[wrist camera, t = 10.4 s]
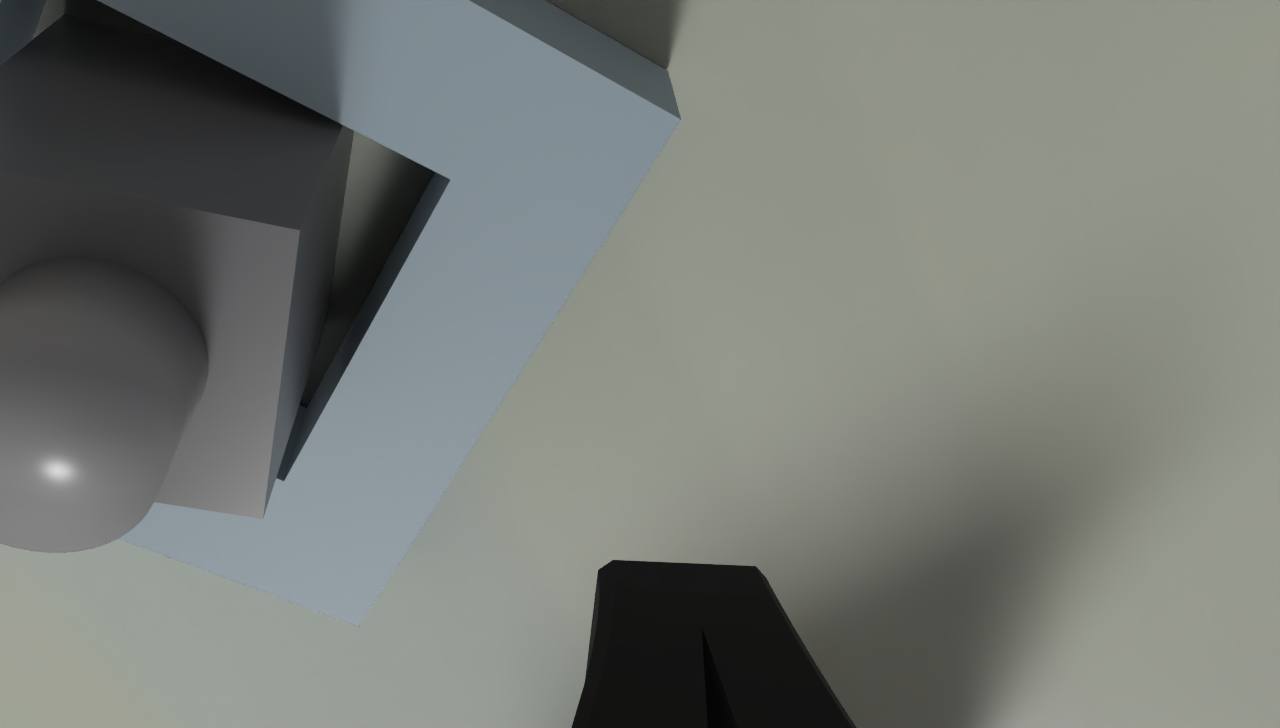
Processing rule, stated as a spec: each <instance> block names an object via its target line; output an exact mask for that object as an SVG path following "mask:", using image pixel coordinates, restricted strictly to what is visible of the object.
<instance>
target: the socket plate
mask: <svg viewBox="0 0 1280 728" xmlns="http://www.w3.org/2000/svg"><path fill="white" fill-rule="evenodd" d="M45 1H46V0H0V66H1V65H2V64H3V63H4V62H6V61H7V60H8V59H9V58H11V57H12V56H13V55H14V54H16V53H17V52H18V51H19V50H21V49H22V48H23V47H24V46H26V45H27V44H28V43H29V42H31V41H32V38H33V35H34V32H35V29H36V27H37V24H38V21H39V18H40V15H41V12H42V10H43V7H44V4H45ZM98 1H100V2H102V3H104V4H105V5H107V6H109V7H111V8H113V9H115V10H117V11H119V12H121V13H123V14H125V15H127V16H129V17H131V18H133V19H135V20H137V21H139V22H141V23H143V24H145V25H147V26H149V27H151V28H153V29H155V30H157V31H159V32H161V33H163V34H165V35H167V36H169V37H171V38H172V39H174V40H176V41H178V42H180V43H182V44H184V45H186V46H188V47H190V48H192V49H194V50H196V51H198V52H200V53H202V54H204V55H206V56H208V57H210V58H212V59H214V60H216V61H218V62H220V63H222V64H224V65H226V66H228V67H230V68H232V69H234V70H236V71H238V72H239V73H241V74H243V75H245V76H247V77H249V78H251V79H253V80H255V81H257V82H259V83H261V84H263V85H265V86H267V87H269V88H271V89H273V90H275V91H277V92H279V93H281V94H283V95H285V96H287V97H289V98H291V99H293V100H295V101H297V102H299V103H301V104H303V105H305V106H306V107H308V108H310V109H312V110H314V111H316V112H318V113H320V114H322V115H324V116H326V117H328V118H330V119H332V120H334V121H336V122H338V123H340V124H342V125H344V126H346V127H348V128H350V129H352V130H354V131H356V132H358V133H360V134H362V135H364V136H366V137H368V138H370V139H372V140H374V141H375V142H377V143H379V144H381V145H383V146H385V147H387V148H389V149H391V150H393V151H395V152H397V153H399V154H401V155H403V156H405V157H407V158H409V159H411V160H413V161H415V162H417V163H419V164H421V165H423V166H425V167H427V168H429V169H431V170H433V171H435V173H434V175H433V177H432V179H431V180H430V182H429V184H428V186H427V188H426V190H425V191H424V193H423V195H422V197H421V199H420V201H419V202H418V204H417V206H416V208H415V210H414V212H413V213H412V215H411V217H410V219H409V221H408V223H407V225H406V226H405V228H404V230H403V232H402V234H401V236H400V237H399V239H398V241H397V243H396V245H395V247H394V248H393V250H392V252H391V254H390V256H389V258H388V259H387V261H386V263H385V265H384V267H383V269H382V270H381V272H380V274H379V276H378V278H377V280H376V282H375V283H374V285H373V287H372V289H371V291H370V293H369V294H368V296H367V298H366V300H365V302H364V304H363V305H362V307H361V309H360V311H359V313H358V315H357V316H356V318H355V320H354V322H353V324H352V326H351V327H350V329H349V331H348V333H347V335H346V337H345V339H344V340H343V342H342V344H341V346H340V348H339V350H338V351H337V353H336V355H335V357H334V359H333V361H332V362H331V364H330V366H329V368H328V370H327V372H326V373H325V375H324V377H323V379H322V381H321V383H320V384H319V386H318V388H317V390H316V392H315V394H314V396H313V397H312V399H311V401H310V403H309V405H308V407H307V408H305V407H303V406H301V405H299V408H298V411H297V414H296V417H295V420H294V423H293V426H292V430H291V433H290V436H289V439H288V442H287V445H286V448H285V452H284V455H283V458H282V461H281V464H280V467H279V470H278V474H277V477H276V480H275V483H274V486H273V489H272V492H271V496H270V499H269V502H268V505H267V508H266V511H265V514H264V518H263V519H260V518H253V517H247V516H240V515H234V514H227V513H221V512H214V511H208V510H201V509H195V508H188V507H182V506H175V505H169V504H162V503H156V502H154V503H153V505H152V507H151V509H150V510H149V512H148V513H147V515H146V516H145V517H144V518H143V520H142V521H141V522H140V523H139V524H138V525H137V526H135V527H134V528H133V529H132V530H131V531H129V532H128V533H126V534H125V535H123V536H122V537H120V538H118V539H121V540H123V541H126V542H129V543H131V544H134V545H137V546H140V547H142V548H145V549H148V550H151V551H153V552H156V553H159V554H161V555H164V556H167V557H170V558H172V559H175V560H178V561H181V562H183V563H186V564H189V565H191V566H194V567H197V568H200V569H202V570H205V571H208V572H211V573H213V574H216V575H219V576H221V577H224V578H227V579H230V580H232V581H235V582H238V583H241V584H243V585H246V586H249V587H251V588H254V589H257V590H260V591H262V592H265V593H268V594H271V595H273V596H276V597H279V598H281V599H284V600H287V601H290V602H292V603H295V604H298V605H300V606H303V607H306V608H309V609H311V610H314V611H317V612H320V613H322V614H325V615H328V616H330V617H333V618H336V619H339V620H341V621H344V622H347V623H350V624H352V625H355V626H358V627H359V626H360V624H361V623H362V621H363V620H364V618H365V616H366V615H367V613H368V612H369V610H370V609H371V607H372V605H373V604H374V602H375V601H376V599H377V598H378V596H379V594H380V593H381V591H382V590H383V588H384V587H385V585H386V583H387V582H388V580H389V579H390V577H391V575H392V574H393V572H394V571H395V569H396V568H397V566H398V564H399V563H400V561H401V560H402V558H403V557H404V555H405V553H406V552H407V550H408V549H409V547H410V546H411V544H412V542H413V541H414V539H415V538H416V536H417V535H418V533H419V531H420V530H421V528H422V527H423V525H424V524H425V522H426V520H427V519H428V517H429V516H430V514H431V513H432V511H433V509H434V508H435V506H436V505H437V503H438V501H439V500H440V498H441V497H442V495H443V494H444V492H445V490H446V489H447V487H448V486H449V484H450V483H451V481H452V479H453V478H454V476H455V475H456V473H457V472H458V470H459V468H460V467H461V465H462V464H463V462H464V461H465V459H466V457H467V456H468V454H469V453H470V451H471V450H472V448H473V446H474V445H475V443H476V442H477V440H478V439H479V437H480V435H481V434H482V432H483V431H484V429H485V427H486V426H487V424H488V423H489V421H490V420H491V418H492V416H493V415H494V413H495V412H496V410H497V409H498V407H499V405H500V404H501V402H502V401H503V399H504V398H505V396H506V394H507V393H508V391H509V390H510V388H511V387H512V385H513V383H514V382H515V380H516V379H517V377H518V376H519V374H520V372H521V371H522V369H523V368H524V366H525V365H526V363H527V361H528V360H529V358H530V357H531V355H532V353H533V352H534V350H535V349H536V347H537V346H538V344H539V342H540V341H541V339H542V338H543V336H544V335H545V333H546V331H547V330H548V328H549V327H550V325H551V324H552V322H553V320H554V319H555V317H556V316H557V314H558V313H559V311H560V309H561V308H562V306H563V305H564V303H565V302H566V300H567V298H568V297H569V295H570V294H571V292H572V290H573V289H574V287H575V286H576V284H577V283H578V281H579V279H580V278H581V276H582V275H583V273H584V272H585V270H586V268H587V267H588V265H589V264H590V262H591V261H592V259H593V257H594V256H595V254H596V253H597V251H598V250H599V248H600V246H601V245H602V243H603V242H604V240H605V239H606V237H607V235H608V234H609V232H610V231H611V229H612V228H613V226H614V224H615V223H616V221H617V220H618V218H619V216H620V215H621V213H622V212H623V210H624V209H625V207H626V205H627V204H628V202H629V201H630V199H631V198H632V196H633V194H634V193H635V191H636V190H637V188H638V187H639V185H640V183H641V182H642V180H643V179H644V177H645V176H646V174H647V172H648V171H649V169H650V168H651V166H652V165H653V163H654V161H655V160H656V158H657V157H658V155H659V154H660V152H661V150H662V149H663V147H664V146H665V144H666V142H667V141H668V139H669V138H670V136H671V135H672V133H673V131H674V130H675V128H676V127H677V125H678V124H679V122H680V120H681V118H680V114H679V110H678V107H677V103H676V99H675V96H674V92H673V88H672V84H671V81H670V77H669V73H668V71H667V70H665V69H664V68H662V67H660V66H658V65H657V64H655V63H653V62H651V61H650V60H648V59H646V58H644V57H643V56H641V55H639V54H637V53H636V52H634V51H632V50H631V49H629V48H627V47H625V46H624V45H622V44H620V43H618V42H617V41H615V40H613V39H611V38H610V37H608V36H606V35H604V34H603V33H601V32H599V31H598V30H596V29H594V28H592V27H591V26H589V25H587V24H585V23H584V22H582V21H580V20H578V19H577V18H575V17H573V16H571V15H570V14H568V13H566V12H565V11H563V10H561V9H559V8H558V7H556V6H554V5H552V4H551V3H549V2H547V1H545V0H98Z"/></svg>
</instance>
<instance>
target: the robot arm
mask: <svg viewBox="0 0 1280 728" xmlns="http://www.w3.org/2000/svg"><path fill="white" fill-rule="evenodd" d="M572 728H856V726H855V725H854V723H853V722H852V720H851V719H850V717H849V716H848V714H847V713H846V711H845V710H844V708H843V706H842V705H841V703H840V702H839V700H838V699H837V697H836V696H835V694H834V693H833V691H832V689H831V688H830V686H829V685H828V683H827V681H826V680H825V678H824V676H823V675H822V673H821V672H820V670H819V668H818V667H817V665H816V664H815V662H814V660H813V659H812V657H811V655H810V654H809V652H808V650H807V649H806V647H805V645H804V644H803V642H802V640H801V639H800V637H799V635H798V634H797V632H796V630H795V629H794V627H793V625H792V623H791V622H790V620H789V618H788V616H787V615H786V613H785V611H784V609H783V608H782V606H781V604H780V602H779V600H778V599H777V597H776V595H775V593H774V592H773V590H772V588H771V586H770V584H769V582H768V580H767V579H766V577H765V576H764V575H763V574H762V573H761V572H760V570H759V569H758V568H757V567H756V566H737V565H714V564H691V563H668V562H645V561H622V560H612V561H611V562H609V563H608V564H607V565H605V566H604V567H602V568H601V569H599V570H598V576H597V584H596V593H595V602H594V610H593V619H592V627H591V636H590V644H589V653H588V661H587V670H586V679H585V684H584V688H583V691H582V694H581V698H580V701H579V705H578V708H577V711H576V715H575V718H574V721H573V725H572Z"/></svg>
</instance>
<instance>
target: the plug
mask: <svg viewBox="0 0 1280 728" xmlns="http://www.w3.org/2000/svg"><path fill="white" fill-rule="evenodd" d="M353 133H354V130H352V129H350V128H348V127H346V126H344V125H342V124H340V123H338V122H336V121H334V120H332V119H330V118H328V117H326V116H324V115H322V114H320V113H318V112H316V111H314V110H312V109H310V108H308V107H306V106H305V105H303V104H301V103H299V102H297V101H295V100H293V99H291V98H289V97H287V96H285V95H283V94H281V93H279V92H277V91H275V90H273V89H271V88H269V87H267V86H265V85H263V84H261V83H259V82H257V81H255V80H253V79H251V78H249V77H247V76H245V75H243V74H241V73H239V72H238V71H236V70H234V69H232V68H230V67H228V66H226V65H224V64H222V63H220V62H218V61H216V60H214V59H212V58H210V57H208V56H206V55H204V54H202V53H200V52H198V51H196V50H194V49H192V48H190V47H188V46H186V45H184V44H182V43H180V42H178V41H176V40H174V39H170V38H166V37H161V36H157V35H152V34H148V33H143V32H139V31H134V30H130V29H126V28H121V27H117V26H112V25H108V24H103V23H99V22H94V21H90V20H86V19H81V18H77V17H72V16H68V15H63V16H62V17H61V18H59V19H58V20H57V21H56V22H54V23H53V24H52V25H51V26H49V27H48V28H47V29H46V30H44V31H43V32H42V33H41V34H39V35H38V36H37V37H36V38H34V39H33V40H32V41H31V42H29V43H28V44H27V45H26V46H24V47H23V48H22V49H21V50H19V51H18V52H17V53H16V54H14V55H13V56H12V57H11V58H9V59H8V60H7V61H6V62H4V63H3V64H2V65H1V66H0V543H1V544H4V545H8V546H11V547H14V548H19V549H24V550H30V551H37V552H48V553H65V552H75V551H82V550H87V549H92V548H96V547H99V546H102V545H105V544H108V543H110V542H112V541H114V540H116V539H118V538H120V537H122V536H123V535H125V534H126V533H128V532H129V531H131V530H132V529H133V528H134V527H135V526H137V525H138V524H139V523H140V522H141V521H142V520H143V518H144V517H145V516H146V515H147V513H148V512H149V510H150V509H151V507H152V505H153V503H154V502H156V503H162V504H169V505H175V506H182V507H188V508H195V509H201V510H208V511H214V512H221V513H227V514H234V515H240V516H247V517H253V518H260V519H263V518H264V514H265V511H266V508H267V505H268V502H269V499H270V496H271V492H272V489H273V486H274V483H275V480H276V477H277V474H278V470H279V467H280V464H281V461H282V458H283V455H284V452H285V448H286V445H287V442H288V439H289V436H290V433H291V430H292V426H293V423H294V420H295V417H296V414H297V411H298V408H299V404H300V401H301V398H302V395H303V392H304V389H305V386H306V382H307V379H308V376H309V373H310V370H311V367H312V364H313V361H314V357H315V354H316V351H317V348H318V345H319V342H320V339H321V335H322V332H323V329H324V326H325V323H326V318H327V311H328V304H329V298H330V291H331V284H332V277H333V270H334V263H335V257H336V250H337V243H338V236H339V229H340V222H341V215H342V209H343V202H344V195H345V188H346V181H347V174H348V167H349V161H350V154H351V147H352V140H353Z"/></svg>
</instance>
